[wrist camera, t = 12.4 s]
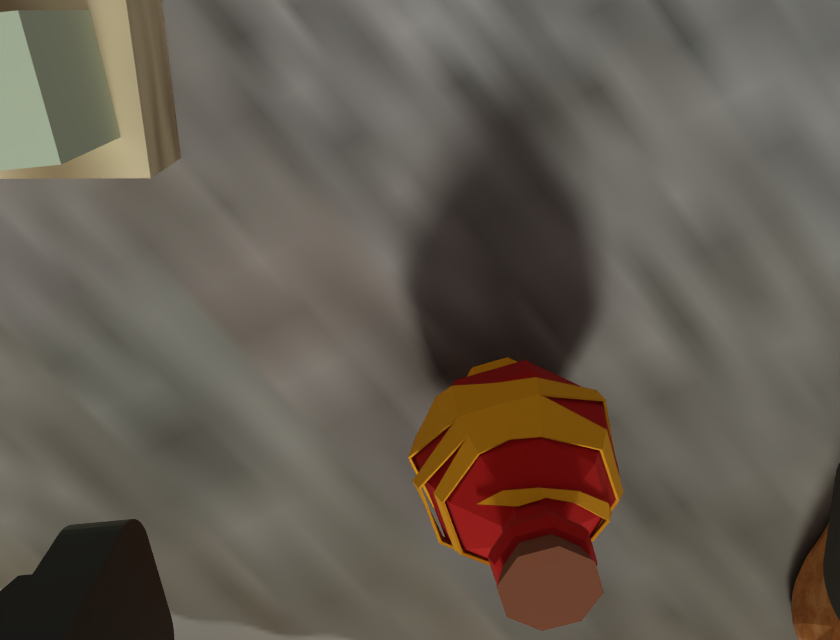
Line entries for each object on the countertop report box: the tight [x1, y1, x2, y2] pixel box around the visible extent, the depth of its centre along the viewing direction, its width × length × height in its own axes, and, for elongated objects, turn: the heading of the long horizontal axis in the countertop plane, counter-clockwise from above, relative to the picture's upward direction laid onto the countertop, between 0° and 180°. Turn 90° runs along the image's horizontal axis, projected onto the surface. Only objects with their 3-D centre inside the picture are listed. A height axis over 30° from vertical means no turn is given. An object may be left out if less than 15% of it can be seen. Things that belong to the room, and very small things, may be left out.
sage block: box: [0, 10, 121, 171], centre depth 28 cm, size 5×5×6 cm
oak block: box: [0, 0, 181, 179], centre depth 33 cm, size 8×8×5 cm
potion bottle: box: [408, 357, 623, 631], centre depth 35 cm, size 10×10×15 cm
